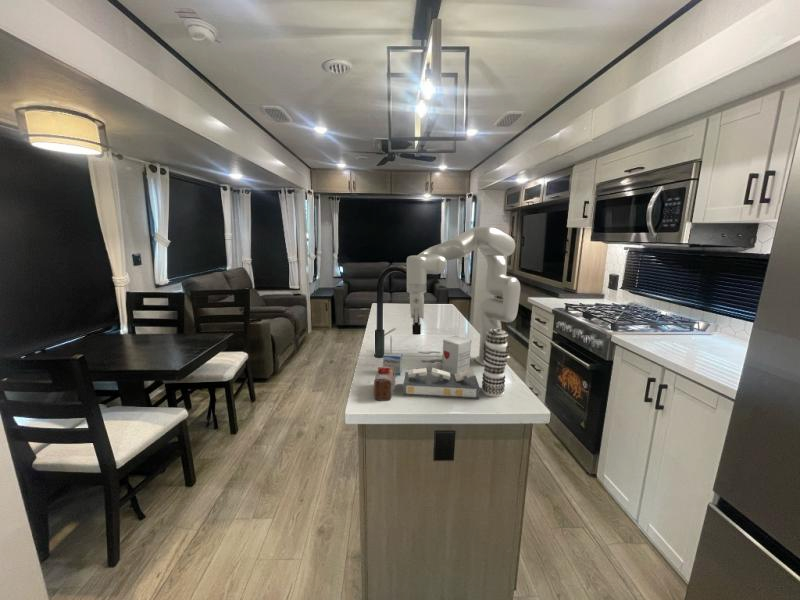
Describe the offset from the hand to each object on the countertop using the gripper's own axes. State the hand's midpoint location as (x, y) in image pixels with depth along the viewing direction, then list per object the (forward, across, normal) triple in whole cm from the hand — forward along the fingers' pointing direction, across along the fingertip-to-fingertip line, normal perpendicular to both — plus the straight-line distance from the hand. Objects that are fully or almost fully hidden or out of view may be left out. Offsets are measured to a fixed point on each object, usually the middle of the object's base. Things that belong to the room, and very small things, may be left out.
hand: (416, 333), depth 126 cm
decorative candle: (+22, -3, -30) cm, 37 cm away
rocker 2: (+14, -5, -10) cm, 18 cm away
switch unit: (+22, -5, -9) cm, 24 cm away
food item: (+21, -8, +12) cm, 26 cm away
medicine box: (+22, +10, +11) cm, 26 cm away
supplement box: (+22, +15, -17) cm, 32 cm away
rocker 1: (+14, -5, 0) cm, 15 cm away
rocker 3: (+15, -5, -18) cm, 24 cm away
